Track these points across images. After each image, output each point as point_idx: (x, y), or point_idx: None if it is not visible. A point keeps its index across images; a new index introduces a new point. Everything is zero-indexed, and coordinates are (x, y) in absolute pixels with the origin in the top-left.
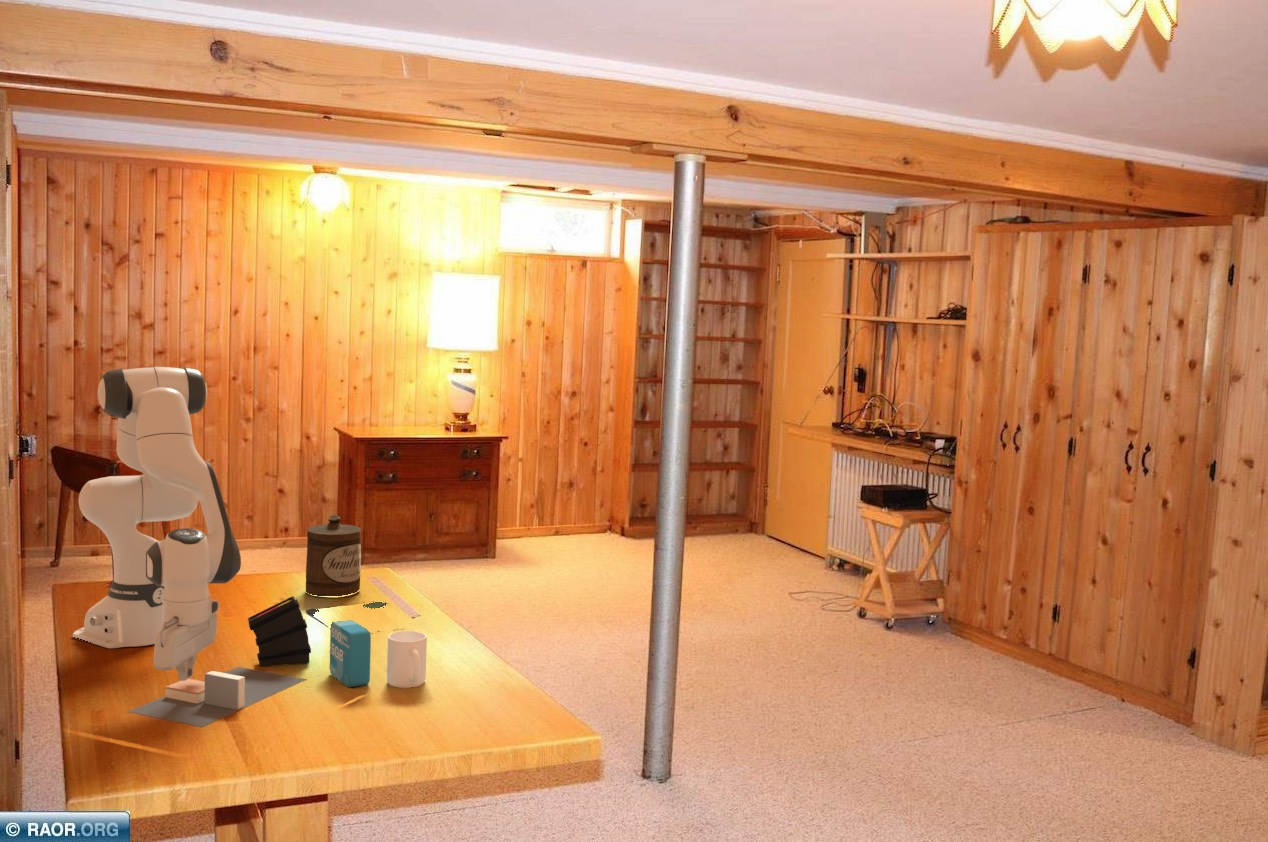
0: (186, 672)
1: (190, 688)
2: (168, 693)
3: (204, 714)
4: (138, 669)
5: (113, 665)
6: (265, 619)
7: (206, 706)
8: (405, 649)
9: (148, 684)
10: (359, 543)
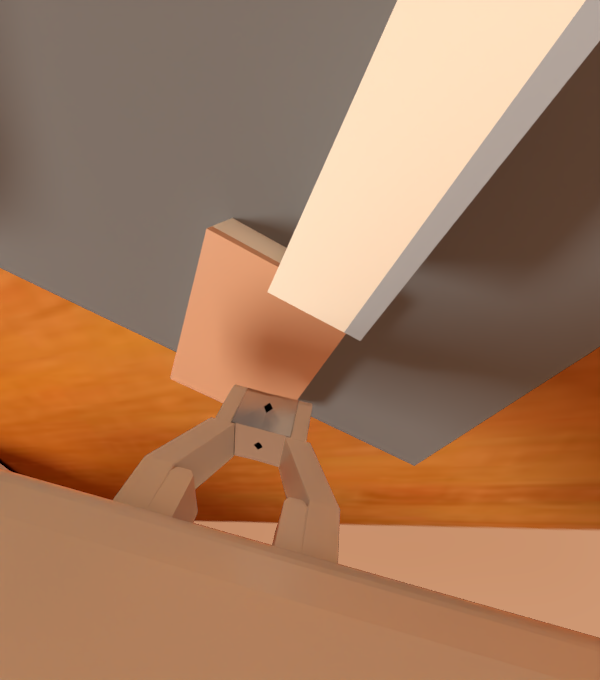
0: (306, 439)
1: (291, 352)
2: None
3: (560, 216)
4: (95, 451)
5: (99, 480)
6: None
7: None
8: None
9: (173, 432)
10: None
